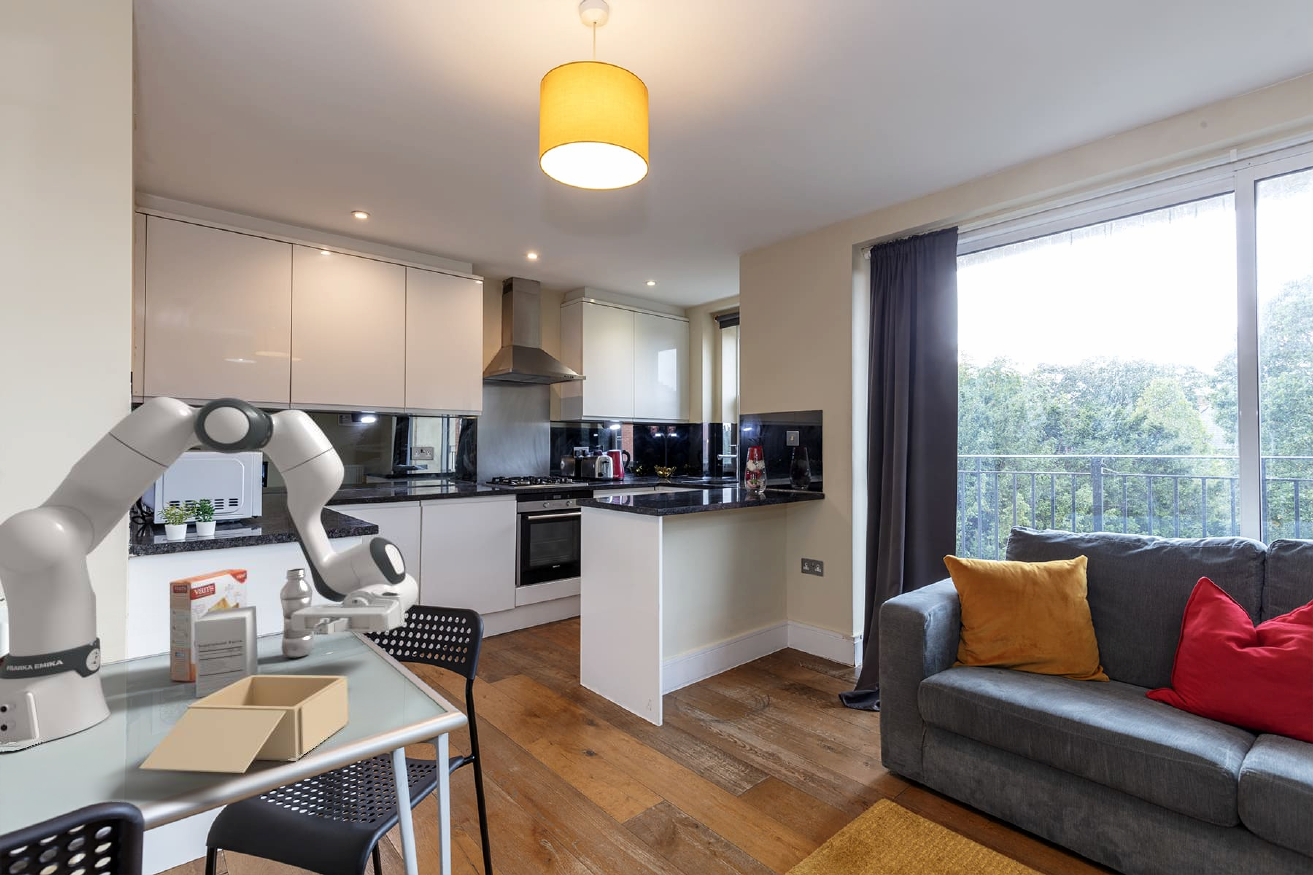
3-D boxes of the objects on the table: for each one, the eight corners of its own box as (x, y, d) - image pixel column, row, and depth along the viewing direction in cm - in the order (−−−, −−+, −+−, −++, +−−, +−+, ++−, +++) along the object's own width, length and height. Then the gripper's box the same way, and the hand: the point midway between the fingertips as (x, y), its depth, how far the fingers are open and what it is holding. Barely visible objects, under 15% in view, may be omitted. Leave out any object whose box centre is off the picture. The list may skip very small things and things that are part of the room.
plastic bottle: (306, 660, 139) (304, 571, 140) (275, 661, 139) (273, 573, 139) (319, 650, 146) (317, 566, 146) (290, 652, 145) (288, 567, 145)
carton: (185, 757, 95) (184, 706, 96) (252, 719, 109) (251, 673, 109) (298, 761, 93) (297, 708, 93) (352, 721, 107) (351, 675, 107)
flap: (190, 709, 95) (140, 769, 87) (189, 708, 95) (139, 767, 86) (285, 711, 93) (243, 772, 85) (284, 710, 93) (242, 771, 85)
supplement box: (208, 682, 127) (207, 610, 128) (259, 675, 131) (257, 604, 131) (194, 698, 119) (192, 621, 119) (248, 690, 122) (246, 615, 123)
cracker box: (192, 683, 127) (190, 582, 127) (168, 681, 128) (166, 581, 129) (250, 659, 141) (248, 568, 141) (228, 658, 142) (226, 568, 142)
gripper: (317, 594, 128) (268, 613, 114) (410, 594, 126) (371, 613, 112) (318, 624, 128) (269, 647, 114) (411, 624, 126) (372, 647, 112)
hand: (320, 630), depth 113 cm, fingers closed
